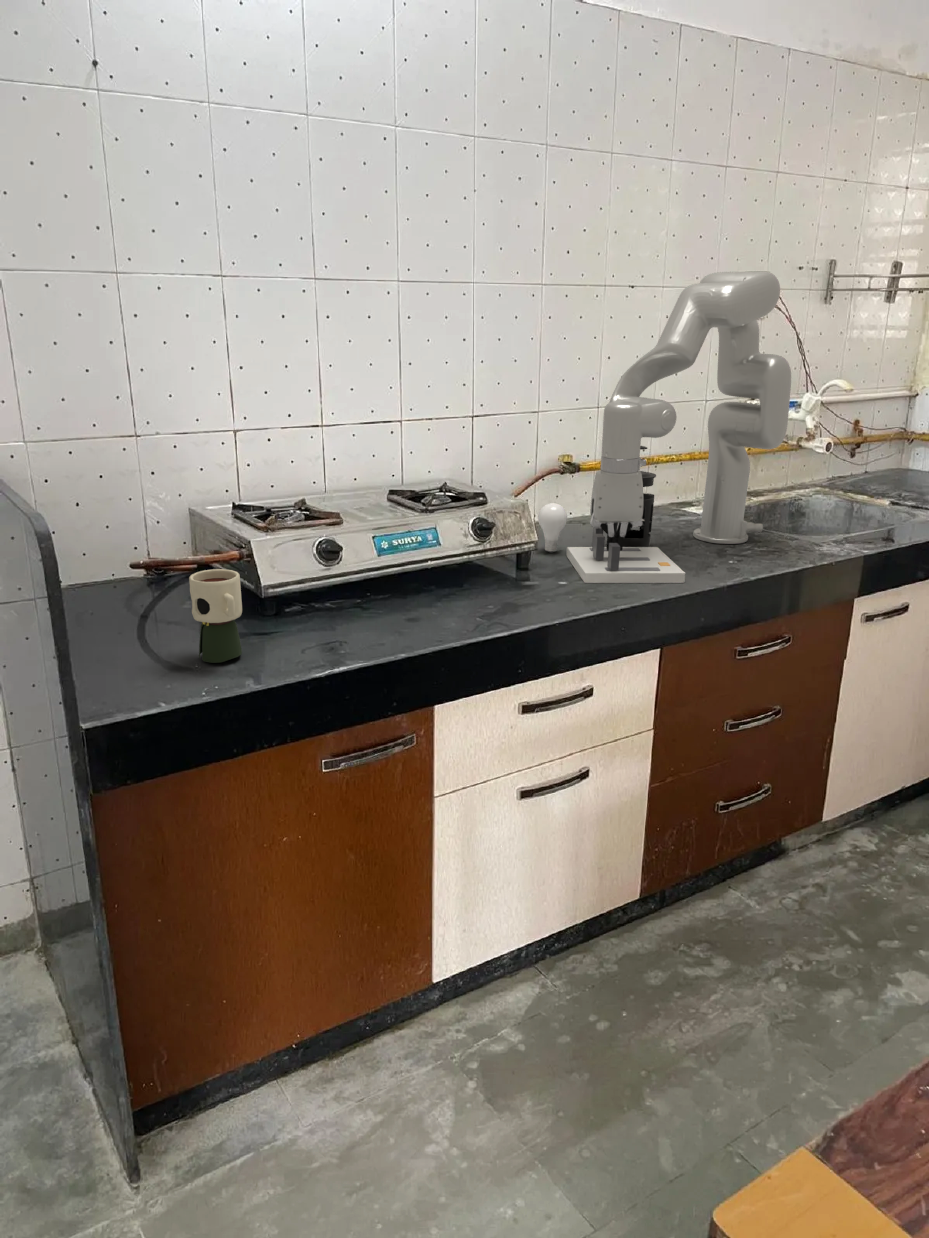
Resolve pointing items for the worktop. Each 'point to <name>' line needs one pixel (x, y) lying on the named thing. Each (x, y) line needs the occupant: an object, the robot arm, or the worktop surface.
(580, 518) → the worktop surface
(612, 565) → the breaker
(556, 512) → the lightbulb
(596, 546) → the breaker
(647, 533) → the french press
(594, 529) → the breaker
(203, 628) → the character mug
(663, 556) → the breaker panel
